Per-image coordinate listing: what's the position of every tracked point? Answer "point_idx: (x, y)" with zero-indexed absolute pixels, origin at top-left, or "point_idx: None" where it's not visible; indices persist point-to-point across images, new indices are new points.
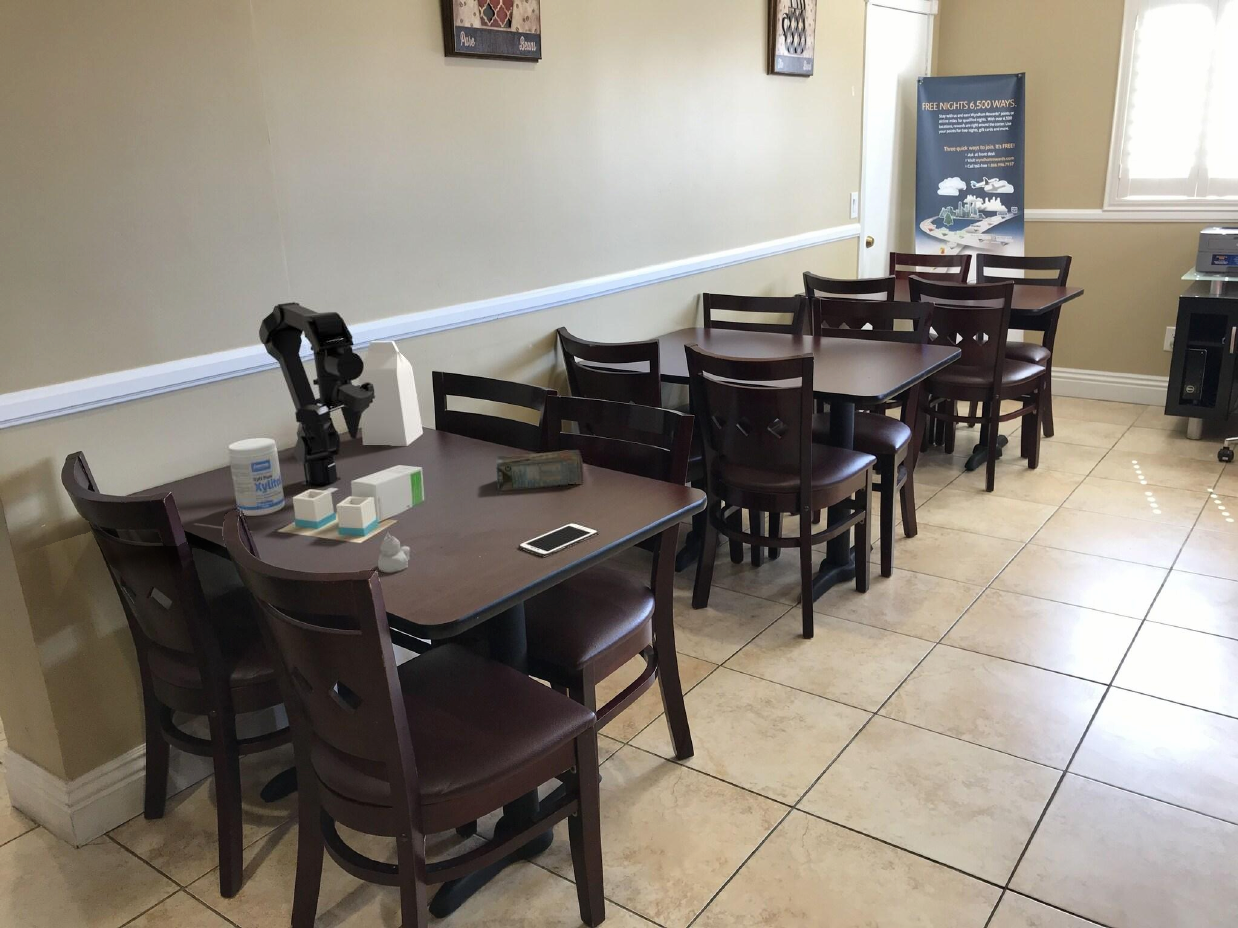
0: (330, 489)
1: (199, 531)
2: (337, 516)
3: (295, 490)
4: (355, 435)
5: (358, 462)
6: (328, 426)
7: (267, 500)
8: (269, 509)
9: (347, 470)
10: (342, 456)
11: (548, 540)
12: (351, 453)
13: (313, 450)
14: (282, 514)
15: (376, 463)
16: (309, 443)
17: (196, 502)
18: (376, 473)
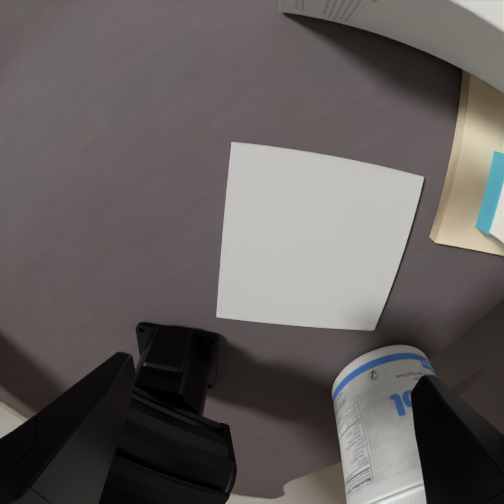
0: (230, 309)
1: (464, 390)
2: (478, 155)
3: (245, 383)
4: (119, 367)
5: (35, 332)
6: (119, 487)
7: (431, 371)
8: (422, 354)
9: (79, 335)
10: (35, 371)
11: None
12: (18, 361)
13: (221, 444)
14: (415, 324)
15: (18, 290)
16: (230, 473)
17: (329, 460)
18: (488, 8)
